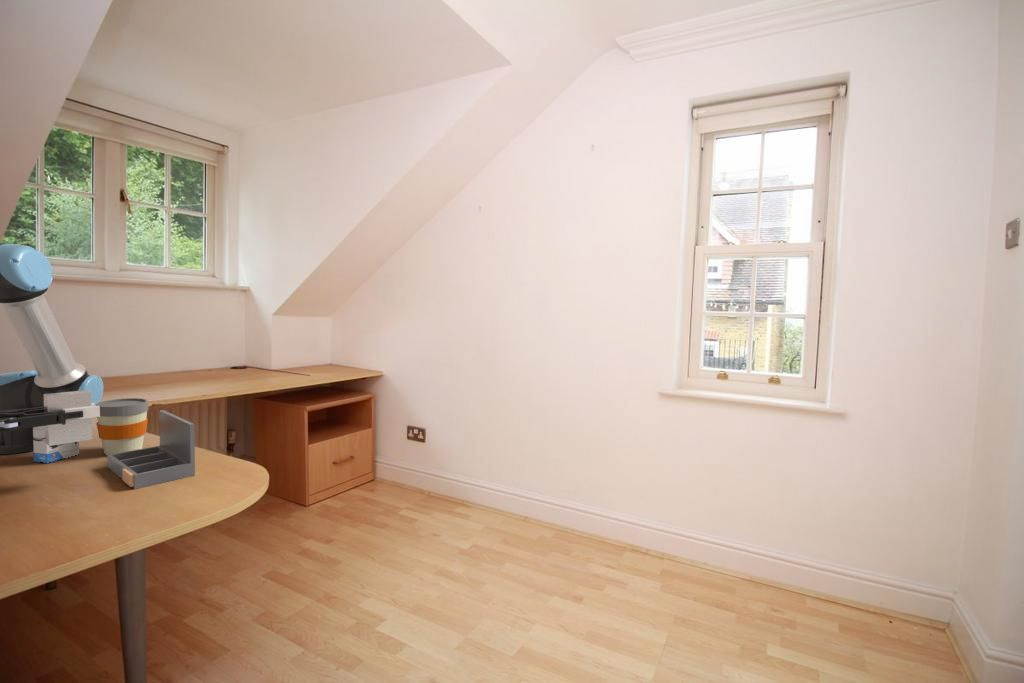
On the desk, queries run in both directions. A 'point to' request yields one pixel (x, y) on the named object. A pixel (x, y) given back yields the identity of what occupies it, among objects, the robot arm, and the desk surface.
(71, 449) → the ink box
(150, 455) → the rack
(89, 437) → the brushed metal block
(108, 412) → the reusable coffee cup
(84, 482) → the desk surface
